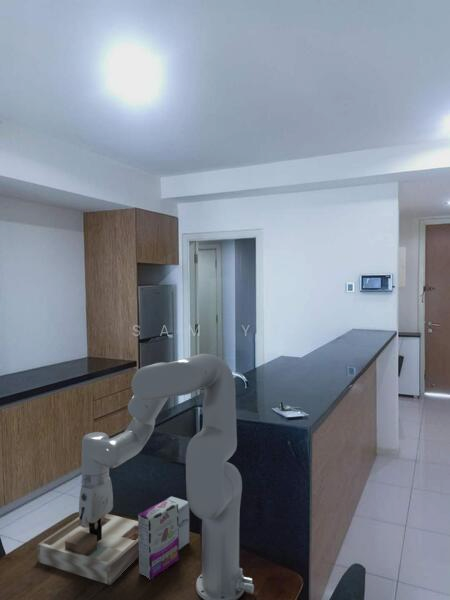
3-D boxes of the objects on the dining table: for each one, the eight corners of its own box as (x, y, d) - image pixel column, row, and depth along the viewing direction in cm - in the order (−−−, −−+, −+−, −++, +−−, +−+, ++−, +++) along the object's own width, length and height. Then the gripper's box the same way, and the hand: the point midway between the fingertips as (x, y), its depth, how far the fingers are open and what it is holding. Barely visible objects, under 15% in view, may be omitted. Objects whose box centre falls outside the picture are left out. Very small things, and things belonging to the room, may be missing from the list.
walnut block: (97, 549, 126) (96, 535, 126) (81, 560, 120) (81, 546, 120) (80, 544, 128) (80, 530, 128) (65, 555, 123) (65, 541, 123)
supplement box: (174, 554, 128) (174, 511, 128) (155, 546, 132) (155, 504, 132) (190, 542, 135) (190, 501, 134) (171, 535, 139) (171, 495, 138)
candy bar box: (166, 554, 129) (166, 498, 128) (179, 560, 126) (179, 503, 125) (137, 573, 120) (137, 513, 119) (150, 581, 117) (150, 519, 116)
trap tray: (161, 536, 138) (161, 520, 138) (110, 585, 115) (110, 565, 115) (96, 520, 148) (96, 505, 148) (37, 561, 125) (37, 544, 125)
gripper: (88, 489, 120) (88, 557, 121) (122, 469, 134) (121, 530, 134) (66, 484, 123) (66, 550, 124) (102, 465, 137) (101, 524, 137)
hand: (95, 539), depth 129 cm, fingers closed
